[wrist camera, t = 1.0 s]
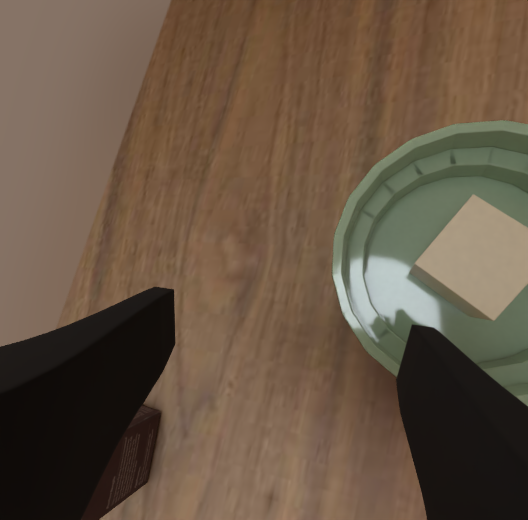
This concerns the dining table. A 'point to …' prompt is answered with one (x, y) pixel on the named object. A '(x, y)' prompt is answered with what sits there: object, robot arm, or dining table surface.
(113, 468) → the box
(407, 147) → the green bowl
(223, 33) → the dining table surface
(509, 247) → the block
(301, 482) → the dining table surface
